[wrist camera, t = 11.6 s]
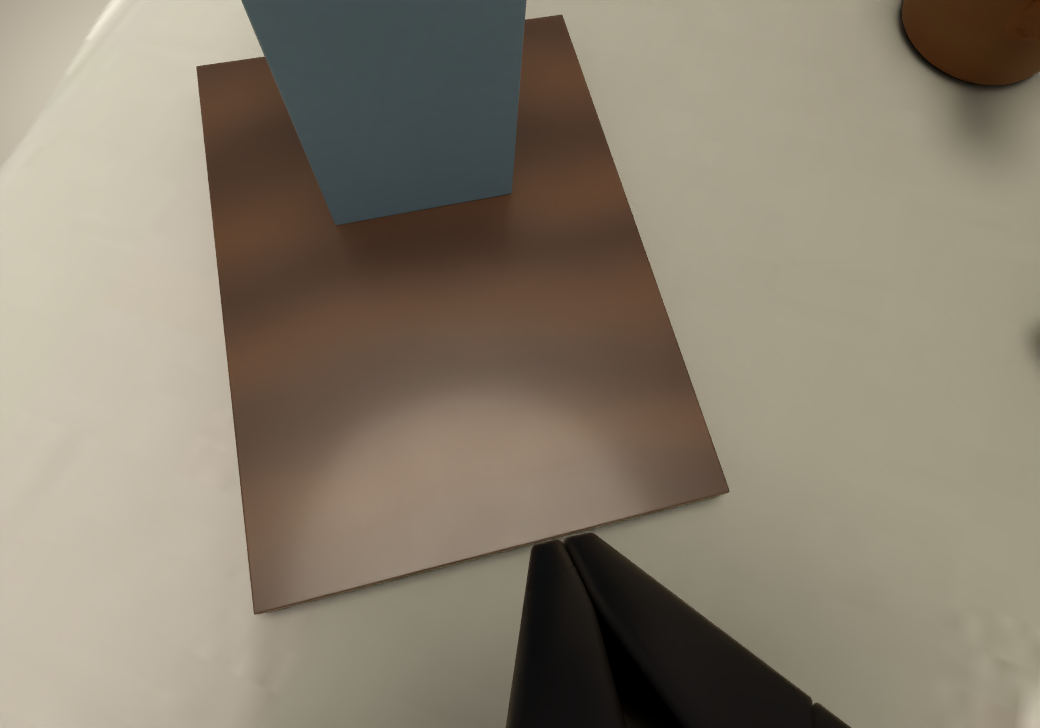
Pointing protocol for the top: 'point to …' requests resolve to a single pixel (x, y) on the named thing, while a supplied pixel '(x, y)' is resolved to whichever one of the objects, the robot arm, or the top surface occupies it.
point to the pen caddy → (398, 97)
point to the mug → (977, 37)
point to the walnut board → (440, 349)
